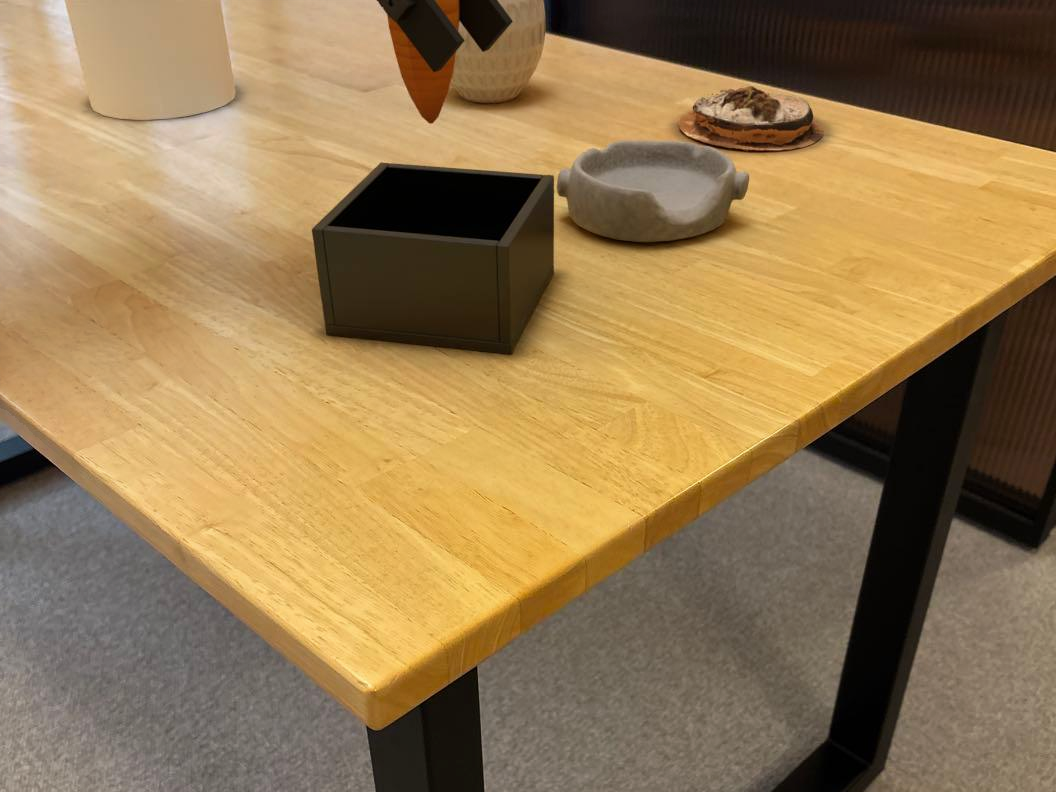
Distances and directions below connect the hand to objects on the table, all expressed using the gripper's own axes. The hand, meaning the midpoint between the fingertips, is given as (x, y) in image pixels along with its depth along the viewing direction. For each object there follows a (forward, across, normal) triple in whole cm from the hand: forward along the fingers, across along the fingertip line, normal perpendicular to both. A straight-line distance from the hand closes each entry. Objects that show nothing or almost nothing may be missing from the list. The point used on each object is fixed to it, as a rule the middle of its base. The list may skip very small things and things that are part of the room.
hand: (473, 45), depth 68 cm
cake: (+14, -50, -12) cm, 54 cm away
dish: (+15, -22, -12) cm, 29 cm away
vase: (-8, -47, -34) cm, 59 cm away
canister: (-30, -28, -56) cm, 70 cm away
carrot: (+1, 0, -6) cm, 7 cm away
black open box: (+11, 0, -15) cm, 19 cm away
